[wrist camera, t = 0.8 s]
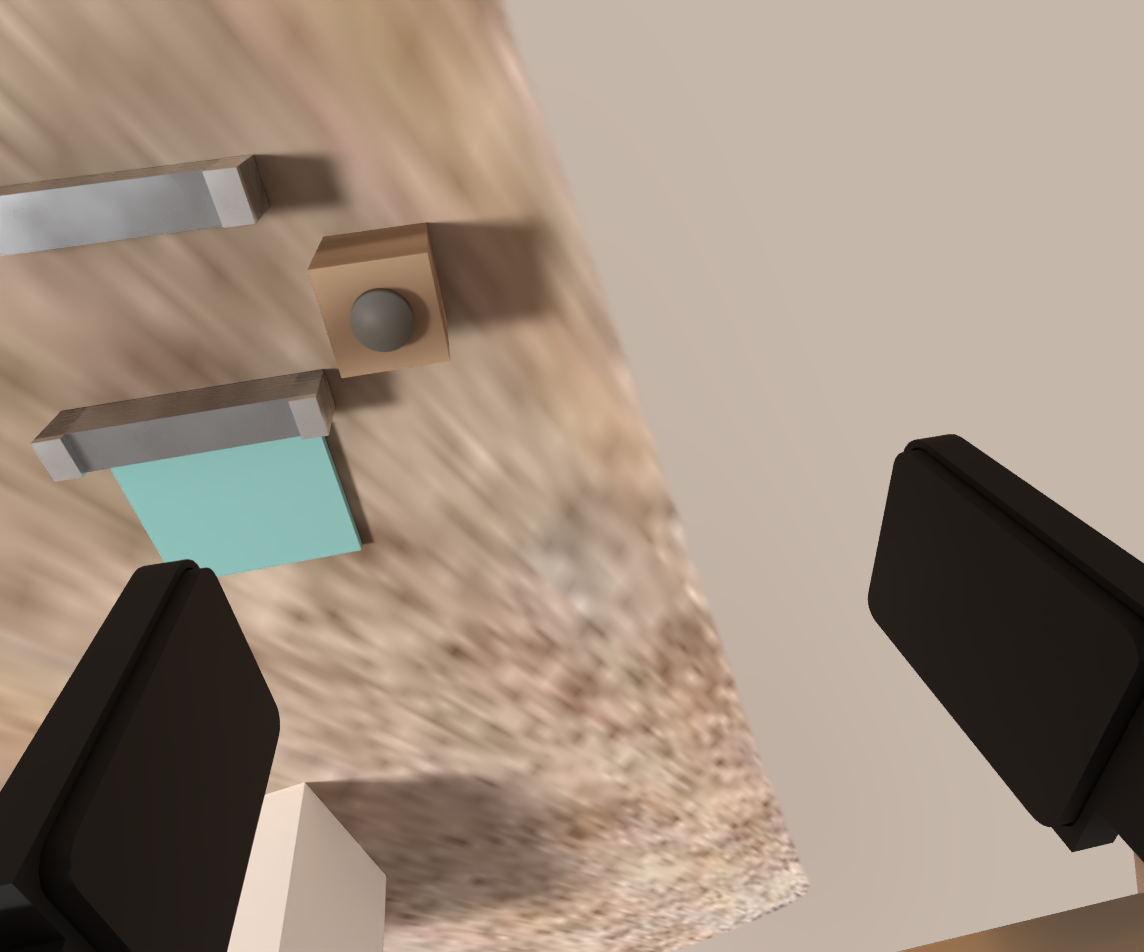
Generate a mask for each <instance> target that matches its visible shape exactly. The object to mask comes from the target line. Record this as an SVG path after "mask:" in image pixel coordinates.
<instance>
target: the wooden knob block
mask: <svg viewBox="0 0 1144 952" xmlns="http://www.w3.org/2000/svg"><path fill="white" fill-rule="evenodd" d="M308 273H309V276H310V280H311V283H312V286H313V289H314V292H315V296H316V299H317V302H318V305H319V308H320V311H321V315H322V318H323V321H324V324H325V327H326V330H327V334H328V337H329V340H330V343H331V346H332V350H333V353H334V356H335V359H336V362H337V365H338V369H339V372H340V375H341V378H347V377H353V376H359V375H365V374H371V373H378V372H384V371H390V370H396V369H402V368H409V367H415V366H421V365H427V364H433V363H440V362H446V361H450V353H449V341H448V330H447V319H446V314H445V309H444V305H443V300H442V295H441V290H440V285H439V280H438V275H437V271H436V266H435V261H434V256H433V251H432V246H431V241H430V237H429V232H428V227H427V223H420V224H412V225H405V226H398V227H391V228H384V229H377V230H369V231H362V232H355V233H348V234H341V235H334V236H327V237H323V238H322V241H321V243H320V245H319V247H318V249H317V251H316V253H315V255H314V257H313V259H312V262H311V264H310V266H309V268H308Z"/></svg>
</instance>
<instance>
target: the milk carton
mask: <svg viewBox="0 0 1144 952" xmlns="http://www.w3.org/2000/svg"><path fill="white" fill-rule="evenodd" d="M385 897H386V875H385V874H384V873H383V872H382V871H381V869H380V868H379V867H378V866H377V865H376V864H375V863H374V861H373V860H372V859H371V858H370V857H369V856H368V855H367V853H366V852H365V851H364V850H363V849H362V848H361V846H360V845H359V844H358V843H357V842H356V841H355V840H354V838H353V837H352V836H351V835H350V834H349V833H348V831H347V830H346V829H345V828H344V827H343V826H342V825H341V823H340V822H339V821H338V820H337V819H336V818H335V817H334V815H333V814H332V813H331V812H330V811H329V810H328V808H327V807H326V806H325V805H324V804H323V803H322V802H321V800H320V799H319V798H318V797H317V796H316V795H315V793H314V792H313V791H312V790H311V789H310V788H309V787H308V785H307V784H306V783H305V782H304V783H301V784H298V785H295V786H292V787H288V788H285V789H282V790H279V791H276V792H272V793H269V794H266V795H265V796H264V800H263V804H262V808H261V812H260V817H259V821H258V825H257V829H256V833H255V837H254V842H253V846H252V850H251V854H250V858H249V863H248V867H247V871H246V875H245V879H244V883H243V888H242V892H241V896H240V900H239V904H238V908H237V913H236V917H235V921H234V925H233V929H232V933H231V938H230V942H229V946H228V950H227V952H383V946H384V921H385Z"/></svg>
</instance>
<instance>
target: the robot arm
mask: <svg viewBox="0 0 1144 952" xmlns="http://www.w3.org/2000/svg"><path fill="white" fill-rule="evenodd" d="M868 605H869V609H870V611H871V614H872V616H873V618H874V620H875V621H876V622H877V624H878V625H879V626H880V627H881V629H882V630H883V631H884V632H885V634H886V635H887V636H888V637H889V639H890V640H891V641H892V642H893V644H894V645H895V646H896V647H897V649H898V650H899V651H900V652H901V654H902V655H903V656H904V657H905V659H906V660H907V661H908V662H909V664H910V665H911V666H912V667H913V668H914V670H915V671H916V672H917V673H918V675H919V676H920V677H921V679H922V680H923V681H924V682H925V683H926V685H927V686H928V687H929V689H930V690H931V691H932V692H933V693H934V695H935V696H936V697H937V698H938V700H939V701H940V702H941V704H943V706H944V707H945V708H946V710H947V711H948V712H949V714H950V715H951V716H952V717H953V719H954V720H955V721H956V722H957V723H958V725H959V726H960V727H961V729H962V730H963V731H964V732H965V733H966V735H967V736H968V737H969V738H970V740H971V741H972V742H973V743H974V745H975V746H976V747H977V748H978V750H979V751H980V752H981V753H982V755H983V756H984V757H985V758H986V760H987V761H988V762H989V763H990V765H991V766H992V767H993V768H994V770H995V771H996V772H997V773H998V775H999V776H1000V777H1001V778H1002V780H1003V781H1004V782H1005V783H1006V785H1007V786H1008V787H1009V788H1010V789H1011V791H1012V792H1013V793H1014V795H1015V796H1016V797H1017V798H1018V800H1019V801H1020V802H1021V803H1022V804H1023V806H1024V807H1025V808H1026V810H1027V811H1028V812H1029V813H1030V814H1031V815H1032V816H1033V818H1034V819H1035V820H1036V821H1038V822H1039V823H1041V824H1042V825H1044V826H1047V827H1052V828H1053V829H1054V831H1055V832H1056V833H1057V834H1058V836H1059V837H1060V838H1061V839H1062V841H1063V842H1064V843H1065V844H1066V846H1067V847H1068V848H1069V849H1070V850H1071V852H1075V851H1080V850H1084V849H1088V848H1092V847H1096V846H1101V845H1104V844H1109V843H1113V842H1114V840H1115V839H1116V837H1117V835H1118V834H1119V835H1120V836H1121V838H1122V839H1123V840H1124V841H1125V842H1126V843H1127V844H1128V845H1129V847H1130V848H1131V849H1132V850H1133V851H1134V859H1135V869H1136V879H1137V888H1138V894H1135V895H1131V896H1126V897H1122V898H1119V899H1114V900H1110V901H1106V902H1101V903H1098V904H1093V905H1089V906H1085V907H1081V908H1077V909H1073V910H1068V911H1064V912H1060V913H1056V914H1052V915H1048V916H1043V917H1040V918H1035V919H1031V920H1027V921H1023V922H1019V923H1015V924H1010V925H1006V926H1002V927H998V928H994V929H990V930H986V931H981V932H977V933H973V934H969V935H965V936H960V937H957V938H952V939H949V940H944V941H940V942H936V943H932V944H927V945H923V946H919V947H915V948H911V949H907V950H903V951H899V952H1144V563H1142V562H1141V561H1139V560H1138V559H1136V558H1135V557H1134V556H1132V555H1131V554H1129V553H1128V552H1126V551H1125V550H1124V549H1122V548H1121V547H1119V546H1118V545H1116V544H1115V543H1113V542H1112V541H1111V540H1109V539H1108V538H1106V537H1105V536H1103V535H1102V534H1101V533H1099V532H1098V531H1096V530H1095V529H1093V528H1092V527H1090V526H1089V525H1088V524H1086V523H1084V522H1083V521H1082V520H1080V519H1079V518H1077V517H1076V516H1074V515H1073V514H1072V513H1070V512H1069V511H1067V510H1066V509H1064V508H1063V507H1061V506H1060V505H1059V504H1057V503H1056V502H1054V501H1053V500H1051V499H1050V498H1048V497H1047V496H1046V495H1044V494H1043V493H1041V492H1040V491H1038V490H1037V489H1035V488H1034V487H1032V486H1031V485H1030V484H1028V483H1027V482H1025V481H1024V480H1022V479H1021V478H1020V477H1018V476H1017V475H1015V474H1014V473H1012V472H1011V471H1009V470H1008V469H1007V468H1005V467H1004V466H1002V465H1001V464H999V463H998V462H996V461H995V460H994V459H992V458H991V457H989V456H988V455H986V454H985V453H983V452H982V451H981V450H979V449H978V448H976V447H975V446H973V445H972V444H970V443H969V442H968V441H966V440H965V439H963V438H962V437H960V436H957V435H955V434H948V435H942V436H936V437H929V438H923V439H917V440H913V441H911V442H909V443H908V445H907V446H906V447H905V449H904V452H902V453H900V454H898V456H897V457H896V458H895V461H894V465H893V470H892V475H891V480H890V485H889V491H888V496H887V501H886V506H885V511H884V516H883V521H882V526H881V531H880V536H879V542H878V547H877V552H876V557H875V562H874V568H873V572H872V577H871V583H870V588H869V593H868ZM279 732H280V718H279V712H278V708H277V705H276V703H275V701H274V699H273V697H272V695H271V692H270V690H269V688H268V686H267V684H266V682H265V680H264V677H263V675H262V673H261V671H260V669H259V667H258V664H257V662H256V660H255V658H254V656H253V654H252V652H251V649H250V647H249V645H248V643H247V641H246V639H245V636H244V634H243V632H242V630H241V628H240V626H239V624H238V621H237V619H236V617H235V615H234V613H233V611H232V609H231V606H230V604H229V602H228V600H227V598H226V596H225V593H224V591H223V589H222V587H221V585H220V583H219V581H218V578H217V576H216V575H215V573H214V571H213V570H212V569H210V568H207V567H205V568H200V567H199V566H198V564H197V563H195V562H194V561H193V560H190V559H184V560H178V561H172V562H166V563H160V564H154V565H147V566H143V567H140V568H138V569H137V570H136V571H135V572H134V574H133V575H132V577H131V578H130V580H129V582H128V583H127V585H126V587H125V588H124V590H123V592H122V593H121V595H120V596H119V598H118V600H117V601H116V603H115V605H114V606H113V608H112V610H111V611H110V613H109V614H108V616H107V618H106V619H105V621H104V623H103V624H102V626H101V628H100V629H99V631H98V633H97V634H96V636H95V637H94V639H93V641H92V642H91V644H90V646H89V647H88V649H87V651H86V652H85V654H84V656H83V657H82V659H81V660H80V662H79V664H78V665H77V667H76V669H75V670H74V672H73V674H72V675H71V677H70V678H69V680H68V682H67V683H66V685H65V687H64V688H63V690H62V692H61V693H60V695H59V697H58V698H57V700H56V701H55V703H54V705H53V706H52V708H51V710H50V711H49V713H48V715H47V716H46V718H45V720H44V721H43V723H42V724H41V726H40V728H39V729H38V731H37V733H36V734H35V736H34V738H33V739H32V741H31V742H30V744H29V746H28V747H27V749H26V751H25V752H24V754H23V756H22V757H21V759H20V761H19V762H18V764H17V765H16V767H15V769H14V770H13V772H12V774H11V775H10V777H9V779H8V780H7V782H6V784H5V785H4V787H3V788H2V790H1V792H0V952H227V950H228V946H229V942H230V938H231V933H232V929H233V925H234V921H235V917H236V913H237V908H238V904H239V900H240V896H241V892H242V888H243V883H244V879H245V875H246V871H247V867H248V863H249V858H250V854H251V850H252V846H253V842H254V837H255V833H256V829H257V825H258V821H259V817H260V812H261V808H262V804H263V800H264V796H265V792H266V787H267V783H268V779H269V775H270V771H271V767H272V762H273V758H274V754H275V750H276V746H277V742H278V737H279Z"/></svg>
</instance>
